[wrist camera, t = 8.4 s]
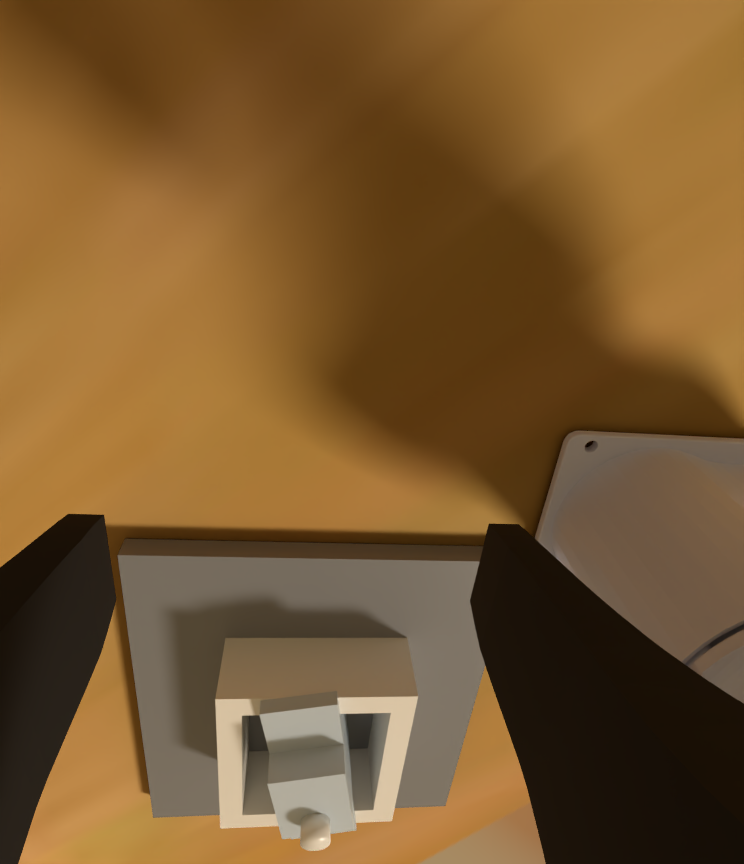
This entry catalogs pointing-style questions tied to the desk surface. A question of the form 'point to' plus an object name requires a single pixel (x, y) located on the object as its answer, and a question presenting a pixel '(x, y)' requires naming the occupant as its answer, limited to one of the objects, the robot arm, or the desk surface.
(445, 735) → the pocket plate
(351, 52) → the desk surface
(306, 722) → the block
